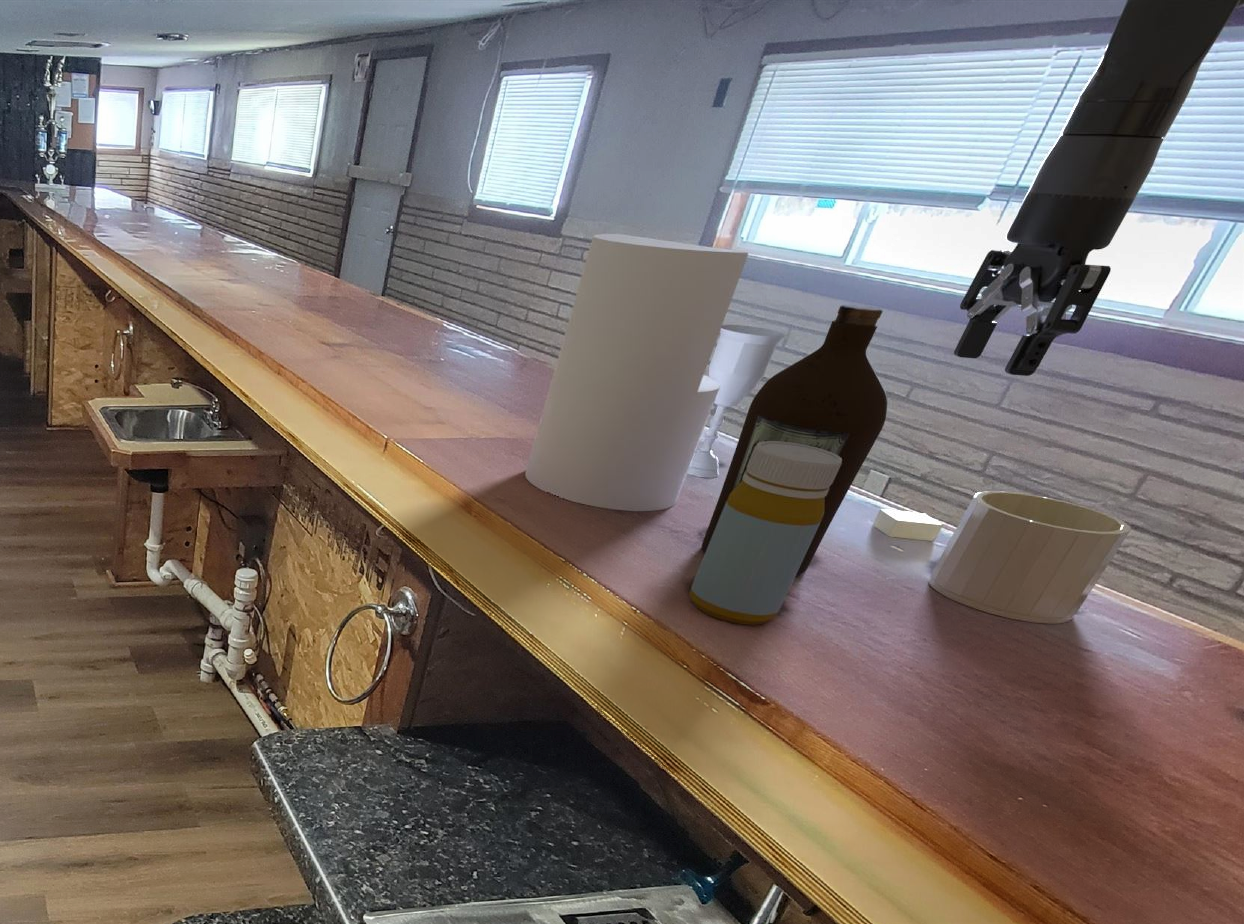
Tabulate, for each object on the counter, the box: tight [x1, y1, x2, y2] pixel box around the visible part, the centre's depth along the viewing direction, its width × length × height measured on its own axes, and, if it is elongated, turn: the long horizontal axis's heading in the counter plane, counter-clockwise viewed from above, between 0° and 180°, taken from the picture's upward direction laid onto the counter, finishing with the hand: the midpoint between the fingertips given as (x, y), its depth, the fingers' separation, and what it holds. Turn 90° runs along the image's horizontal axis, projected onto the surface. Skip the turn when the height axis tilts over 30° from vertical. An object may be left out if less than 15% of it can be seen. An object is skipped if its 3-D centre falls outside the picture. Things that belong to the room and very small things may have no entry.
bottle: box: [688, 441, 842, 626], centre depth 80 cm, size 7×7×15 cm
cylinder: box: [524, 233, 749, 512], centre depth 106 cm, size 17×17×28 cm
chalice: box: [687, 324, 786, 479], centre depth 116 cm, size 7×7×18 cm
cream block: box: [872, 508, 944, 542], centre depth 103 cm, size 5×4×2 cm
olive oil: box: [701, 304, 889, 577], centre depth 88 cm, size 11×11×25 cm
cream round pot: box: [928, 490, 1132, 625], centre depth 86 cm, size 11×11×9 cm
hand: (990, 365), depth 94 cm, fingers open, 8 cm apart
